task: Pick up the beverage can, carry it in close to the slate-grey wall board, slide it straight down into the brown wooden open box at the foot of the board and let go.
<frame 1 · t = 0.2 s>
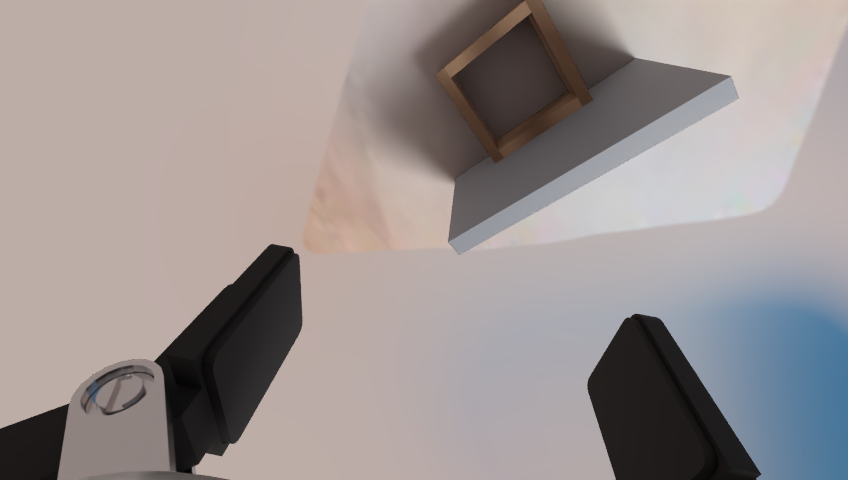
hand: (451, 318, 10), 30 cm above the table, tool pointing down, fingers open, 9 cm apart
wall board: (539, 130, 36), on the table
brown wooden open box: (510, 82, 34), on the table
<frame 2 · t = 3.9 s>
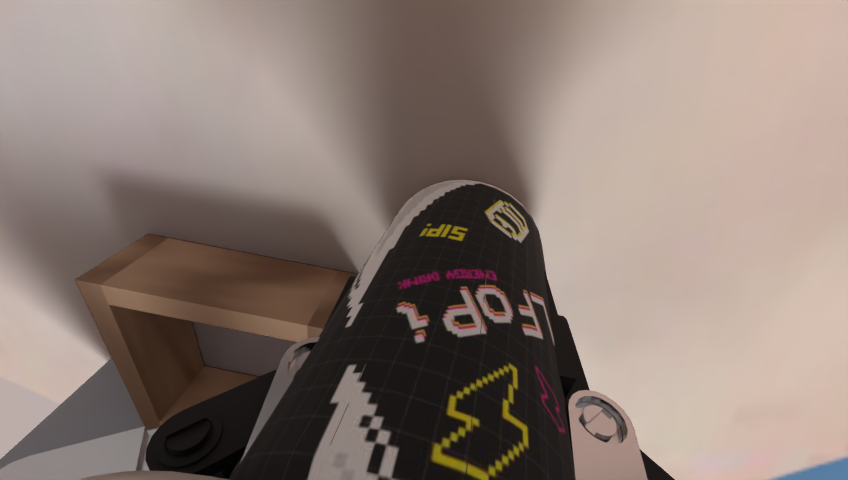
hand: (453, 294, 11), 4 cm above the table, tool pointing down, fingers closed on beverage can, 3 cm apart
beverage can: (465, 238, 14), on the table, touching gripper
wall board: (271, 397, 22), on the table
brown wooden open box: (263, 331, 19), on the table
when the fingers open (5 cm above the table, at t = 11.7 s): beverage can drops 2 cm, resting in brown wooden open box.
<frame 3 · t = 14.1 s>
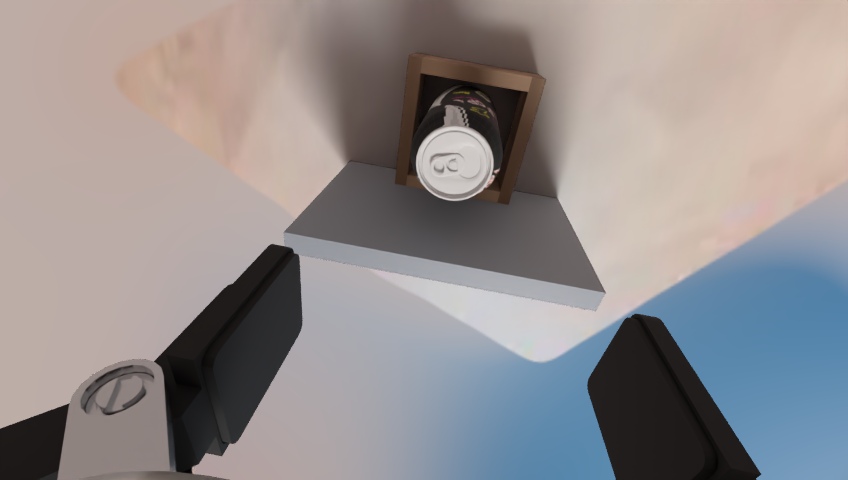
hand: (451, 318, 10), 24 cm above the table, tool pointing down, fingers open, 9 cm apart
beverage can: (462, 118, 31), resting in brown wooden open box
wall board: (451, 186, 34), on the table
brown wooden open box: (464, 126, 31), on the table
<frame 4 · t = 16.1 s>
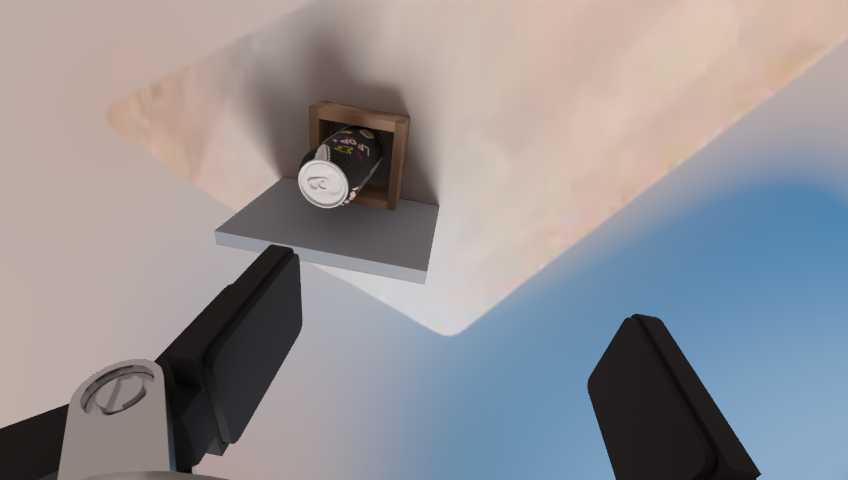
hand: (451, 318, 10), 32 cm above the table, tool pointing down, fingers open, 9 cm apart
beverage can: (361, 146, 42), resting in brown wooden open box
wall board: (360, 196, 45), on the table
brown wooden open box: (363, 152, 42), on the table
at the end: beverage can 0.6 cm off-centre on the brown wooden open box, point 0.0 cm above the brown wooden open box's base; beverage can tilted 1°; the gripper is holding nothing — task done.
